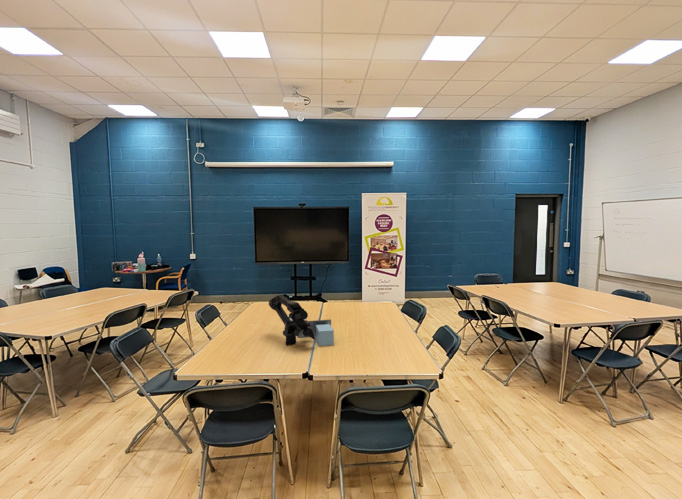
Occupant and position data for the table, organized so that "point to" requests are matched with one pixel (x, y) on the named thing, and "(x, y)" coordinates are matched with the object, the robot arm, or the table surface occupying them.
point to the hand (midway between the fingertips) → (313, 336)
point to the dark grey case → (313, 326)
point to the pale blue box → (324, 335)
